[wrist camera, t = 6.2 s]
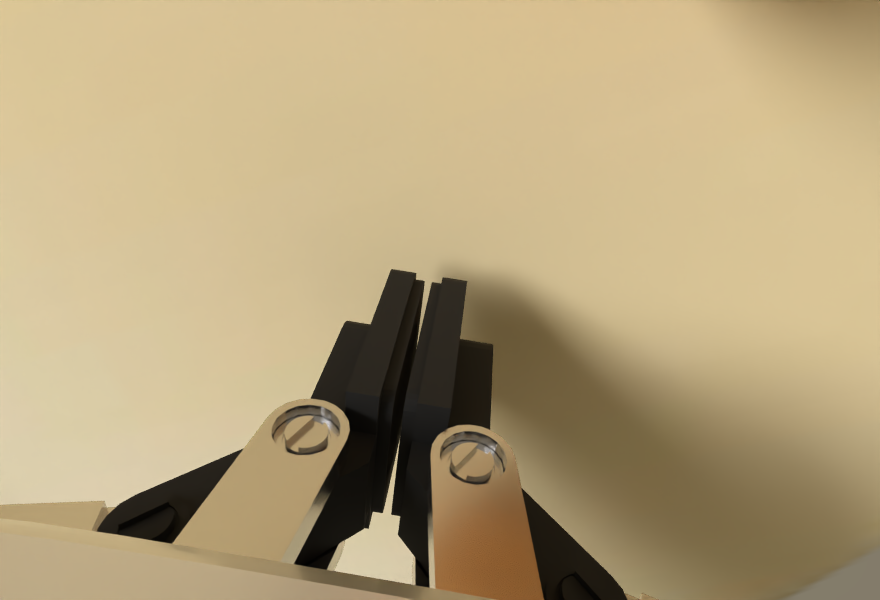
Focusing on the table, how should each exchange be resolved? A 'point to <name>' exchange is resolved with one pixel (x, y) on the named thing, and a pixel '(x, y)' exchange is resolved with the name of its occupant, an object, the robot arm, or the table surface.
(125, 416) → the table surface
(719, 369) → the table surface
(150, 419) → the table surface
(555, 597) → the robot arm
